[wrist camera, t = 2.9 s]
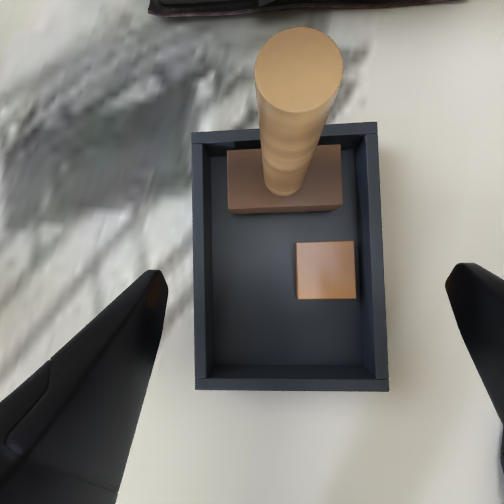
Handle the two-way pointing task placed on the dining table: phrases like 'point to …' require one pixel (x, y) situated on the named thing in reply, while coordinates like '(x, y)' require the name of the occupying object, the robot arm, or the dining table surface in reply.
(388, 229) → the dining table surface
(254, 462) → the dining table surface
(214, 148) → the baking tray
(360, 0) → the diary
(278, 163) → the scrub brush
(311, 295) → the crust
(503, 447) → the hairbrush
